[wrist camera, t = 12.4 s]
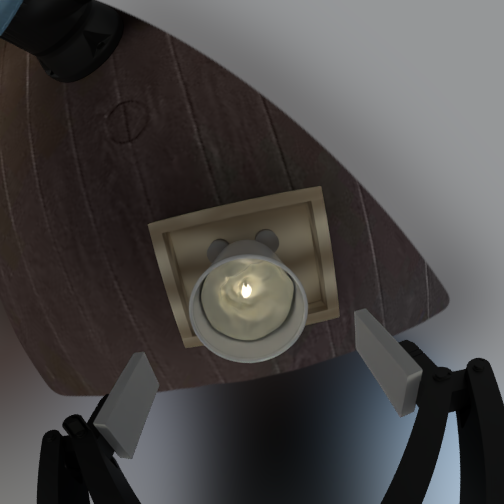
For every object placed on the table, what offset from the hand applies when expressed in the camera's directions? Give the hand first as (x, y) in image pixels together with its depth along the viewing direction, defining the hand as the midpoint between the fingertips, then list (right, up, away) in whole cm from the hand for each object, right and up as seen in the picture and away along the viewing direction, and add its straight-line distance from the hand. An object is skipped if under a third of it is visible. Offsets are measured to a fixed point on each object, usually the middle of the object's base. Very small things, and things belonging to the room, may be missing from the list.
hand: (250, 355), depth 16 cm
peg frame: (-1, +4, +21) cm, 22 cm away
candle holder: (-1, +4, +18) cm, 19 cm away
